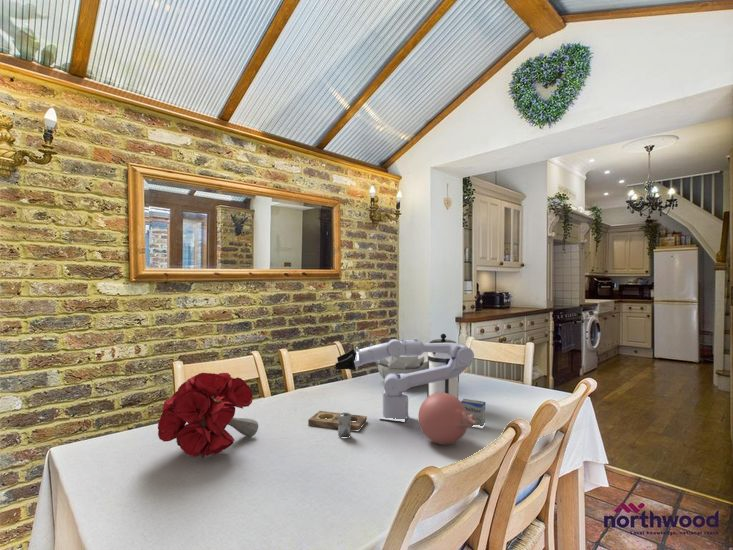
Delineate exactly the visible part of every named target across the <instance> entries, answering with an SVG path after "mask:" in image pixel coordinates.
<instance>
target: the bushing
mask: <svg viewBox="0 0 733 550" xmlns="http://www.w3.org/2000/svg"><path fill="white" fill-rule="evenodd" d="M339 413H340V414H339V418H338V429H337V434H338V435H337V437H338V436H339V437H349V436H350V437H351V432H352V431H351V414H352V413H349V412H339ZM339 437H338V438H339Z"/></svg>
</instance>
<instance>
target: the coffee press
mask: <svg viewBox="0 0 733 550" xmlns="http://www.w3.org/2000/svg"><path fill="white" fill-rule="evenodd" d="M446 338H447V335H446V334H445V333H442V334H440V338H439V339H432V340H431V341H429V343H457V342H456V341H454V340H451V339H446ZM427 353H428V369H430V368H435V367H439V366H444V365H447V364H448V363H449V361H450V359H451V356H450V355H448V354H446V353H433V352H427ZM459 380H460V375H459V376H457V377H455V378H450V379H445V380H441V381H436V382H432V383H427V385H426V386H427V387H426V388H427V389H426V394H427V395H426V396H427V397H426V398H428V397H429V396H431V395H433V394H436V393H447V394H451V395H453V396H455V397H456V398H457V399H459V383H460V381H459Z"/></svg>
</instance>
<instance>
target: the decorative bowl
mask: <svg viewBox="0 0 733 550" xmlns="http://www.w3.org/2000/svg"><path fill="white" fill-rule="evenodd" d="M374 362H375V363H376V364H377V370H378V373H379V375H380V376H381V378H382V379H383V380H384V379H385V377H386V375H388V374H390V373H395V374H401V373H403V374H408V373H412V372H417V371H421V370H426V369H428V352H424V353H422V354H421V355H420V356H404V355H401V356H399V357H394V356H391V357H387V358H385V359H381V360H378V361H374Z"/></svg>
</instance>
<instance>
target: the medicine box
mask: <svg viewBox="0 0 733 550" xmlns="http://www.w3.org/2000/svg"><path fill="white" fill-rule="evenodd" d="M460 401H461V403H462V404H463V405H464V407H465V409H466V412H467V413H468V415H470V414H473V415H474V416H475V419H476V422H477V425H480V426H483V425H484V423H485V424H486V401H483V400H482V401H481V400H475V399H469V398H463V399H461V400H460Z"/></svg>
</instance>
